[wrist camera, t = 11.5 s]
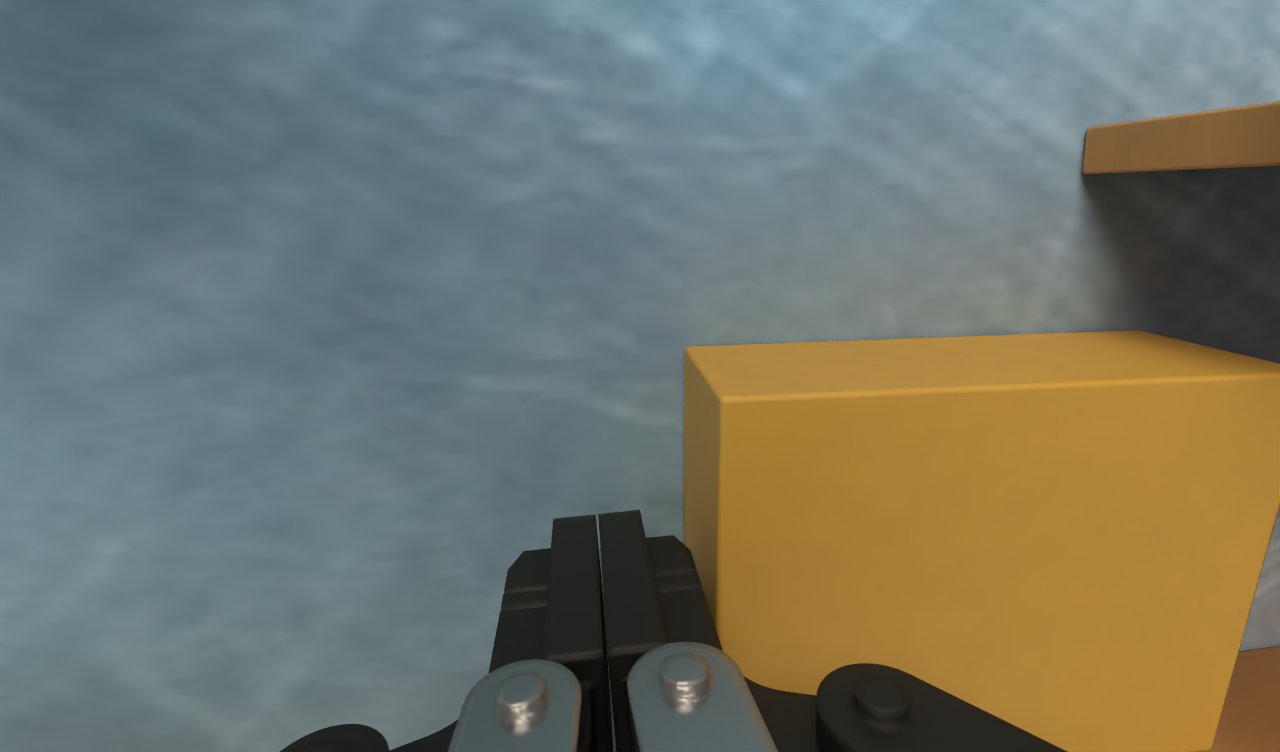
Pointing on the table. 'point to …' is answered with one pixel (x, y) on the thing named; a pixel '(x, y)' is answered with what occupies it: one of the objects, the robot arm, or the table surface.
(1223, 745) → the book rack
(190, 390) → the table surface
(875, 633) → the yellow block
